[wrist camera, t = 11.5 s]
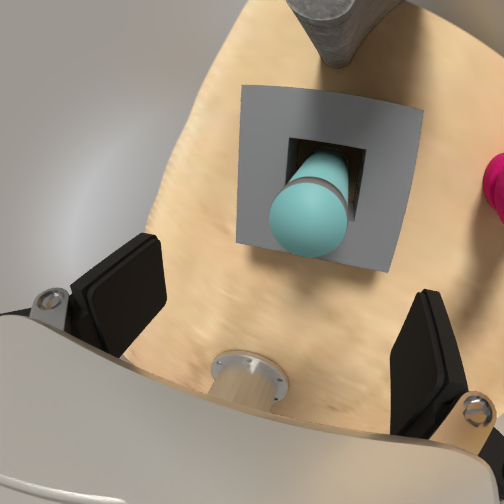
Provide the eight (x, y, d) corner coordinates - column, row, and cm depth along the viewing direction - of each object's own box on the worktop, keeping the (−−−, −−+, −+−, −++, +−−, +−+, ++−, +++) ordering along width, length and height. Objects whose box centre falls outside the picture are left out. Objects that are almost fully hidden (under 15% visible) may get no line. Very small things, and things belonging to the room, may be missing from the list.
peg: (345, 191, 27) (339, 265, 15) (303, 184, 28) (265, 250, 16) (351, 150, 25) (354, 190, 13) (308, 143, 26) (271, 177, 14)
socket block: (383, 247, 28) (387, 272, 24) (252, 222, 32) (235, 242, 27) (410, 109, 21) (423, 110, 17) (259, 87, 25) (241, 84, 21)
